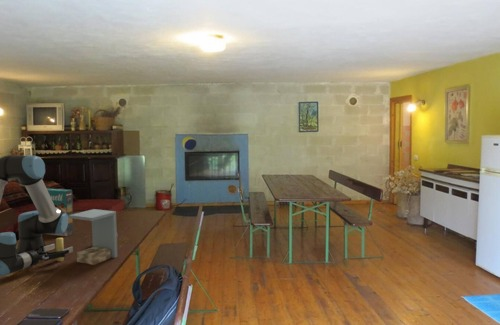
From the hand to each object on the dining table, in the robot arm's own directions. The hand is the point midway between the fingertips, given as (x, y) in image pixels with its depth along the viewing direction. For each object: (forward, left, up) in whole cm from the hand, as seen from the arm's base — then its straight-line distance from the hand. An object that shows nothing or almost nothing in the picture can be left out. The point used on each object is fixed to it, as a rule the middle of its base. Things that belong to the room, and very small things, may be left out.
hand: (63, 247), depth 213 cm
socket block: (+16, +6, -6) cm, 18 cm away
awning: (+16, +6, -6) cm, 18 cm away
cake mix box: (-47, +35, -7) cm, 59 cm away
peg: (0, -2, -6) cm, 7 cm away
